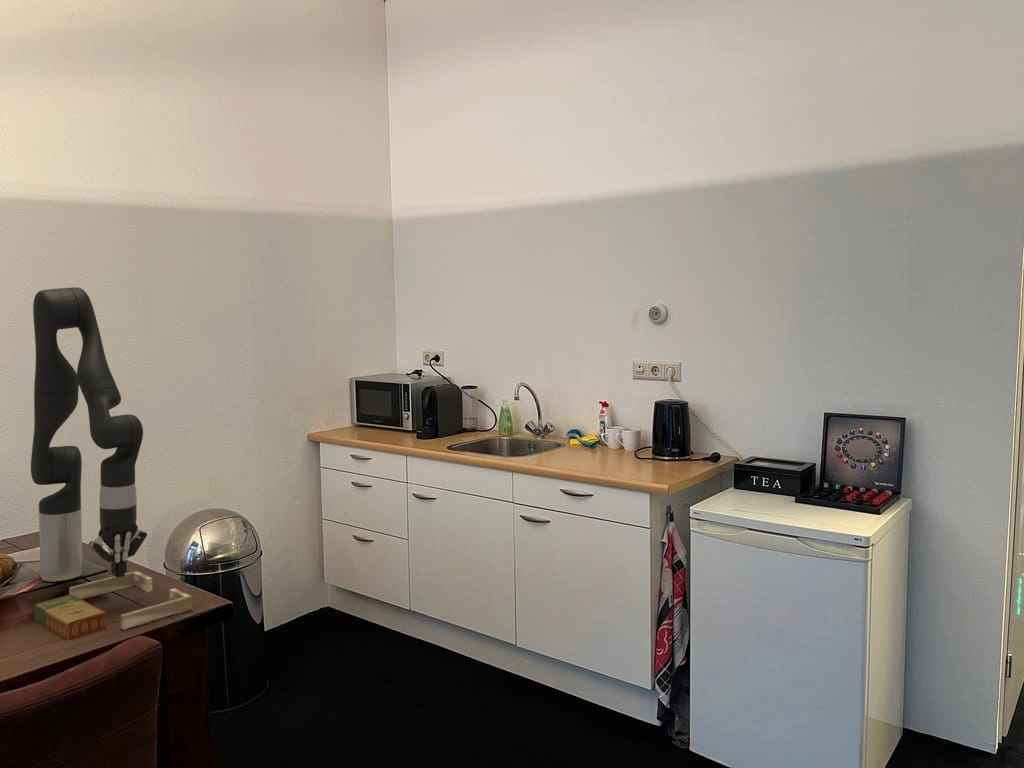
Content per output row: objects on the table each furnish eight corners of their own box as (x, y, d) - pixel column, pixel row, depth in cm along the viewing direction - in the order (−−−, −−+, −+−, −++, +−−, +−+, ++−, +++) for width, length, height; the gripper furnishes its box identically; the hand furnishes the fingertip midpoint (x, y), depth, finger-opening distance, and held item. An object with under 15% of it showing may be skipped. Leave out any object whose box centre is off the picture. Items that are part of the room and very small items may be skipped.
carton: (66, 642, 169) (66, 622, 168) (33, 621, 179) (32, 602, 178) (107, 629, 175) (106, 610, 175) (72, 610, 185) (72, 592, 185)
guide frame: (69, 600, 190) (69, 587, 189) (136, 583, 202) (136, 570, 202) (123, 630, 174) (123, 616, 174) (192, 609, 187) (192, 596, 187)
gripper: (137, 494, 191) (137, 564, 194) (80, 505, 181) (81, 579, 183) (154, 500, 187) (155, 573, 189) (97, 512, 176) (98, 588, 179)
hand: (118, 576), depth 186 cm, fingers closed
